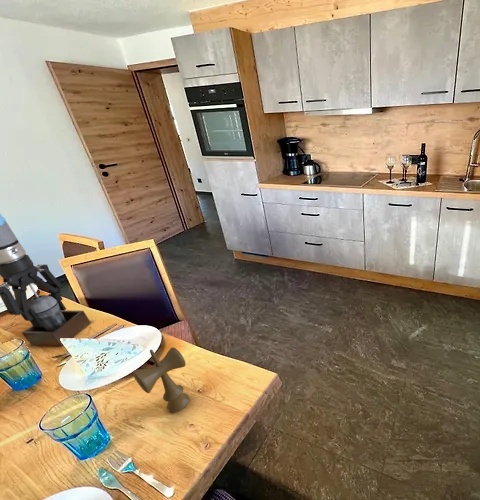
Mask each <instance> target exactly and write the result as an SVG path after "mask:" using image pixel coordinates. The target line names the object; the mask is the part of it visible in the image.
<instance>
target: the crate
mask: <svg viewBox="0 0 480 500" xmlns="http://www.w3.org/2000/svg"><path fill="white" fill-rule="evenodd" d="M61 312H62V314H63V316H64V318H65V320H66V323H64V324H63V325H62V326H60V327H59V328H58V329H56V330H55V331H54V332H48V331H47V330H46V329H45V328H44V327H43V326H42V327H34V326H33V325H31V326H29V327H28V328H27V329H25V330H24V331H22V332H21V335H23V337H24V339H26V341H27V342H28V343H29V344H30V346H41V347H64V345H63V344H62V343H61V341H60V338H71V339H73V338H74V337H75V336H76V335H78V334H79V333H80V332H82V330H83V329H85V328H86V327H87V326H88V325H90V324H91V321H90V318H89V317H88V316H87V314H86V313H85V311H84V310H67V309H66V310H61Z"/></svg>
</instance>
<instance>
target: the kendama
mask: <svg viewBox="0 0 480 500" xmlns="http://www.w3.org/2000/svg"><path fill="white" fill-rule="evenodd" d="M149 353H150V355H151V358H152V360H153V363H154V364H153V365H152V366H150V367H146V368H141V369H140V368H139V369H134V370H132V376H133V379H134V380H135V381H136V383H137V384H138V386H139V387H140V388H141V390H142V391H143V392H144V393H146V394H150V393H151V392H152V390H153V388H154V387H155V385H156V383H157V381H158V380H159V379H160V378H161V382H162V385H163V389H164V393H163V394H162V395H163V396H162V398H163V401H165V402H166V403H167V405H166V408H167V411H168V412H169V413H178V412H181V410H183V409H184V408H185V407H187V405H188V404H189V403H190V396H189V394H188V393H186V392H184V389H185V388H184V386H183V385H182V384H177V383H176V382H175V381H174V380H173V379H172V378H171V376H170V375H169V374H168V372H170V371H173V370H177V369H182V368H184V367H186V366H187V365H186V364H187V363H186V360H185V358H184V355H182V353H181V352H180V351H179V350H178V349H177V347H174V346H173V347H170V348H169V350H168V351H167V352H166V354H165V356H164V357H163V358H162V359H161V360H160V359H159V358H158V356H157V354H156V353H155V352H154V350H153V349H150V350H149Z"/></svg>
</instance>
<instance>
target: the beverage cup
mask: <svg viewBox="0 0 480 500" xmlns="http://www.w3.org/2000/svg"><path fill="white" fill-rule="evenodd" d="M28 286H29V288H30V290H31V291H32V293H33V295H34V297H32V298H31V299H30V300H29V301H28V302H27V303H28V309H29V310H33V311H34V313H35V314H36V315H37V317H38V318H39V319H40V321H41V322H42V324H43V327H44V328H45V329H46V330H47V331H48V332H54V331H55V330H56V329H58V328H59V327H60V326H62V325H63V324H64V323H66V320H65V318H64V316H63V314H62V312H61V310H60V307H59V304H58V301H57V300H56V299H55V298H53V297H51V296H48V295H49V294H40V295H38V293H37V291H36V290H35V289H34V287H33V285H32V283H31V284H29V285H28Z"/></svg>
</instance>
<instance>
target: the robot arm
mask: <svg viewBox="0 0 480 500" xmlns="http://www.w3.org/2000/svg"><path fill="white" fill-rule="evenodd" d="M38 273H39V274H40V276H42V277H40V276H39V275H38ZM0 277H1V278H2V280H3V281H2V283H1V284H0V298H1V301H2V303H3V304H4V306H5V308H6V310H7V313H8V314H9V315H11V316H21V317H22V318H23V319H24V321H26V322H30V324H31V326H34V327H42V326H43V324H42V322H41V321H40V319H39V318H38V317H37V315H36V314H35V313H34V311H33V310H29V309H28V303H29V302H28V298H27V297H28V296H27V291H28V288H27V287H28V286H29V284H31V285H32V284H34V285H36V286H37V287H39V288H40V289H42V290H43V291H45V292H47V293H48V294H47V295H48V296H51V297H53V298H55V299H56V300H57V301H58V304H59V307H60V310H67V307H66V306H65V304H64V303H63V301H62V300H63V297H62V296H61V294H60V293H61V291H62V290H61V289H63V288H64V285H63V284H61V282H60V281H59V280H58V279H57V278H56V276H55V275H54V274H53V273H52V272H51V271H50V268H49V266H48V264H37V265H34V262H33V260H32V259H31V257H30V256H29V254H26V250H25V248H24V247H23V246H22V244H21V243H20V241H19V240H18V238H17V236H16V234H15V232H14V231H13V230H12V228H11V227H10V225H9V224H8V222H7V220H6V218H5V217H4V216H3V215H2V214H1V213H0ZM43 279H44V280H45V281H44V280H43ZM12 292H13V293H12Z"/></svg>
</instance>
